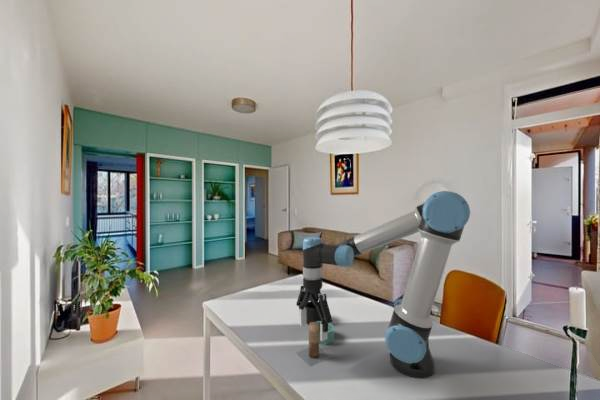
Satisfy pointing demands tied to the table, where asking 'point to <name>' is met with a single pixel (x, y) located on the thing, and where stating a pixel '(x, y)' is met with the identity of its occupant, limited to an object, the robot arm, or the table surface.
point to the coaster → (312, 361)
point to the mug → (311, 313)
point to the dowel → (313, 340)
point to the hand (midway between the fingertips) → (313, 332)
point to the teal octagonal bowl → (329, 333)
